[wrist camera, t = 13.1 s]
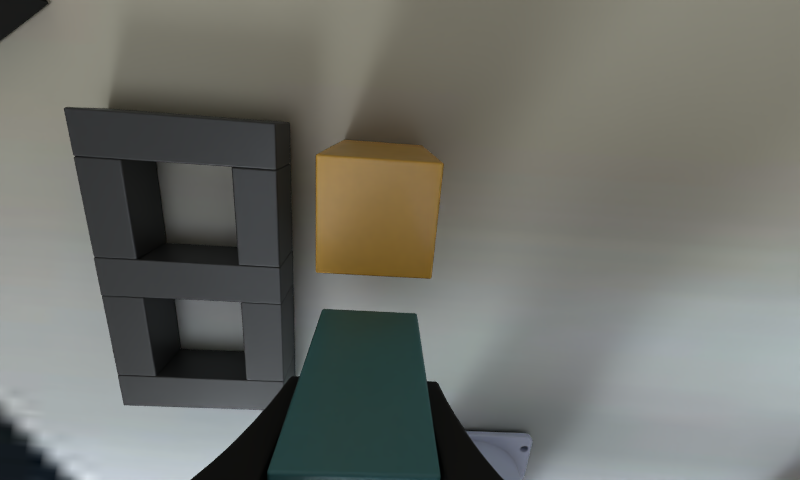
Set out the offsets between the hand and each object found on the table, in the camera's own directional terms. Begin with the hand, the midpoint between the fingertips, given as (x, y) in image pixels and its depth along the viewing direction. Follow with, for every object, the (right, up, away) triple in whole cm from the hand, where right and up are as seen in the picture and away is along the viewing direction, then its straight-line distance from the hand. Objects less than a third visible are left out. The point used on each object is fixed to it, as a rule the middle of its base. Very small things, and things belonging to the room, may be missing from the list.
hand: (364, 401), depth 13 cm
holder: (-9, +5, +7) cm, 12 cm away
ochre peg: (0, +9, +6) cm, 11 cm away
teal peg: (0, +1, +3) cm, 3 cm away
